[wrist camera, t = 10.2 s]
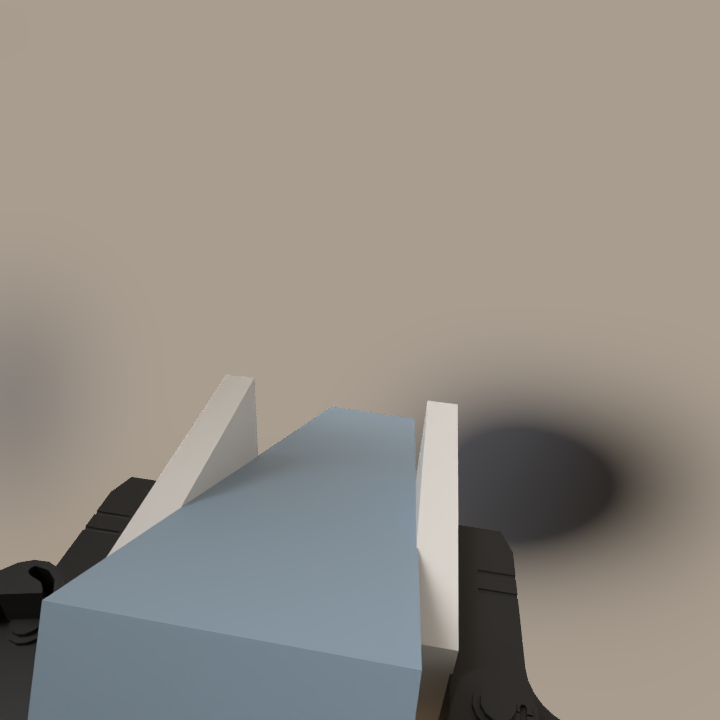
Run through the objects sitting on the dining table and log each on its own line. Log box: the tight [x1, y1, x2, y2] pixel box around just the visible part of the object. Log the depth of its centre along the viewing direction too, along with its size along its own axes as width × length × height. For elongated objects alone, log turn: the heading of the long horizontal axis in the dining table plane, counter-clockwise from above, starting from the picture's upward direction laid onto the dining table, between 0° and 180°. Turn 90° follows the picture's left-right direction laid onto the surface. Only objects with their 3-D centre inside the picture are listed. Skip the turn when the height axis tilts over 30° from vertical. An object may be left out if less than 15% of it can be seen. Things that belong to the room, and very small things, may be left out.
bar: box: [28, 407, 422, 720], centre depth 18 cm, size 24×4×3 cm, turn 174°
